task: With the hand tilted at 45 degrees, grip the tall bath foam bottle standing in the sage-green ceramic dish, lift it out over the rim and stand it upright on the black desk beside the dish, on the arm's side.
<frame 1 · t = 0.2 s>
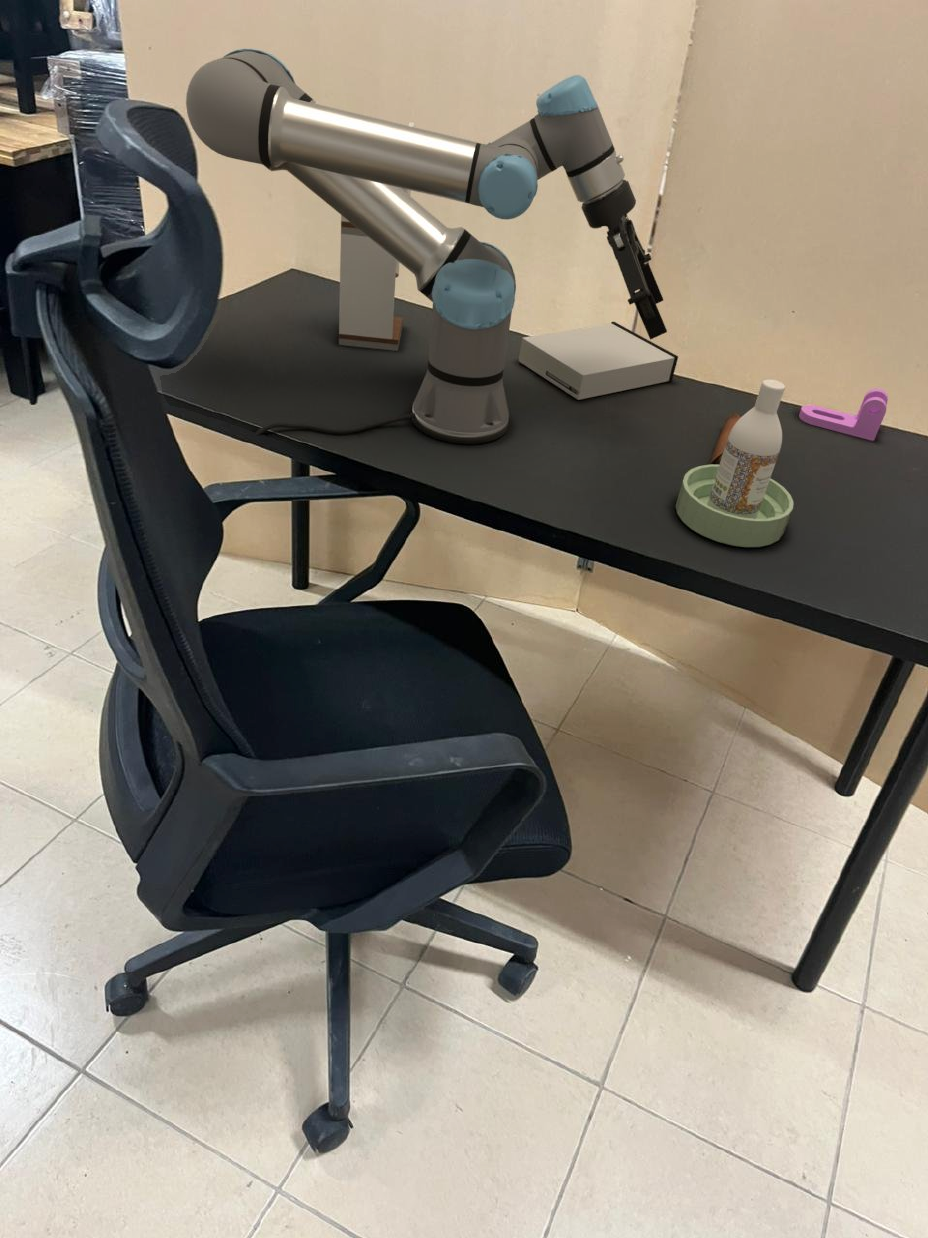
hand: (657, 318, 143), 16 cm above the table, tool tilted 35°, fingers open, 13 cm apart
bracket: (835, 425, 157), on the table
dish: (728, 518, 127), on the table
bath foam: (729, 518, 127), resting in dish
disc drive: (594, 373, 164), on the table
sunglasses case: (739, 459, 143), on the table
tall white banded column: (371, 337, 167), on the table
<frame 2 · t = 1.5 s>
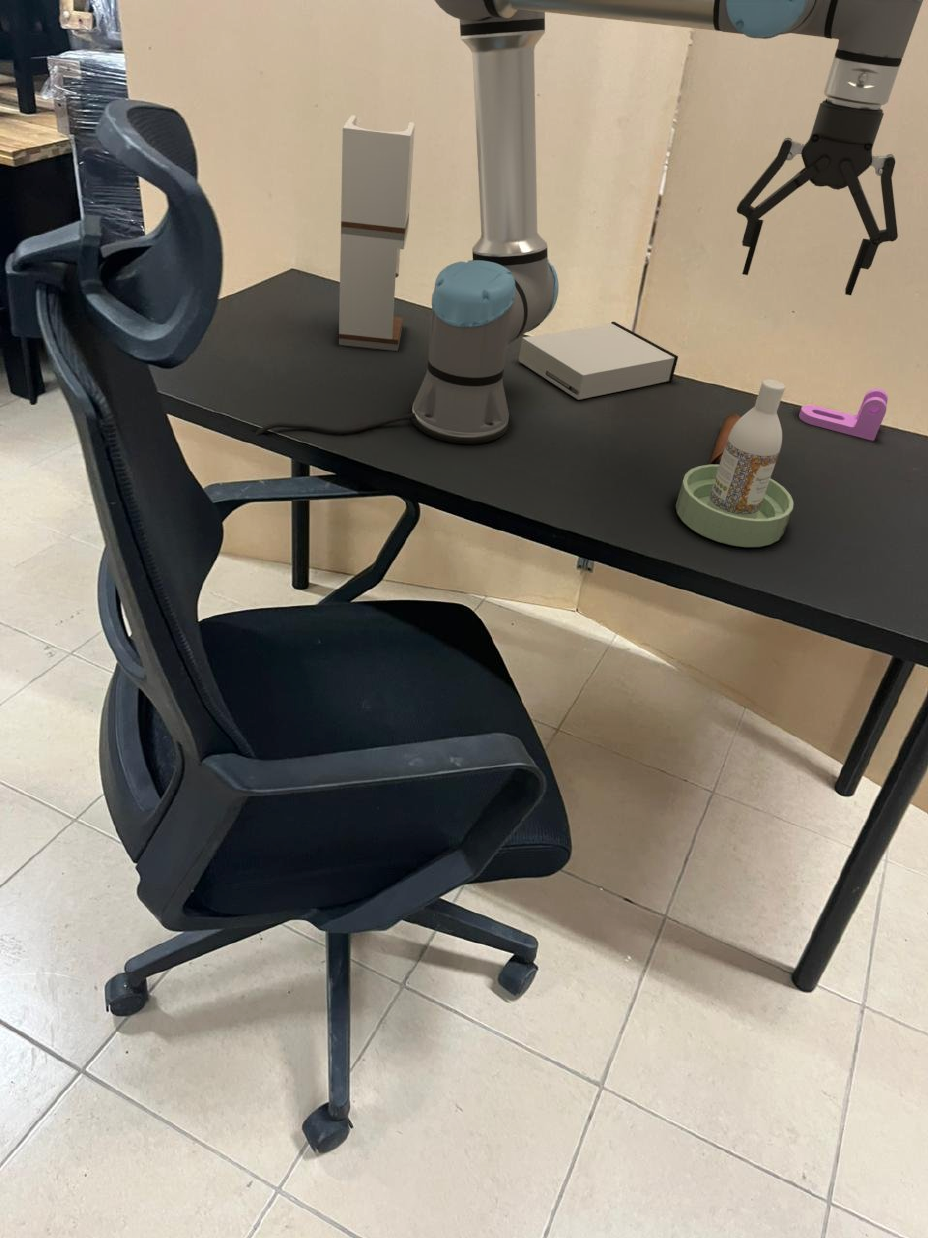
hand: (796, 282, 121), 29 cm above the table, tool pointing down, fingers open, 13 cm apart
nothing on the table moved.
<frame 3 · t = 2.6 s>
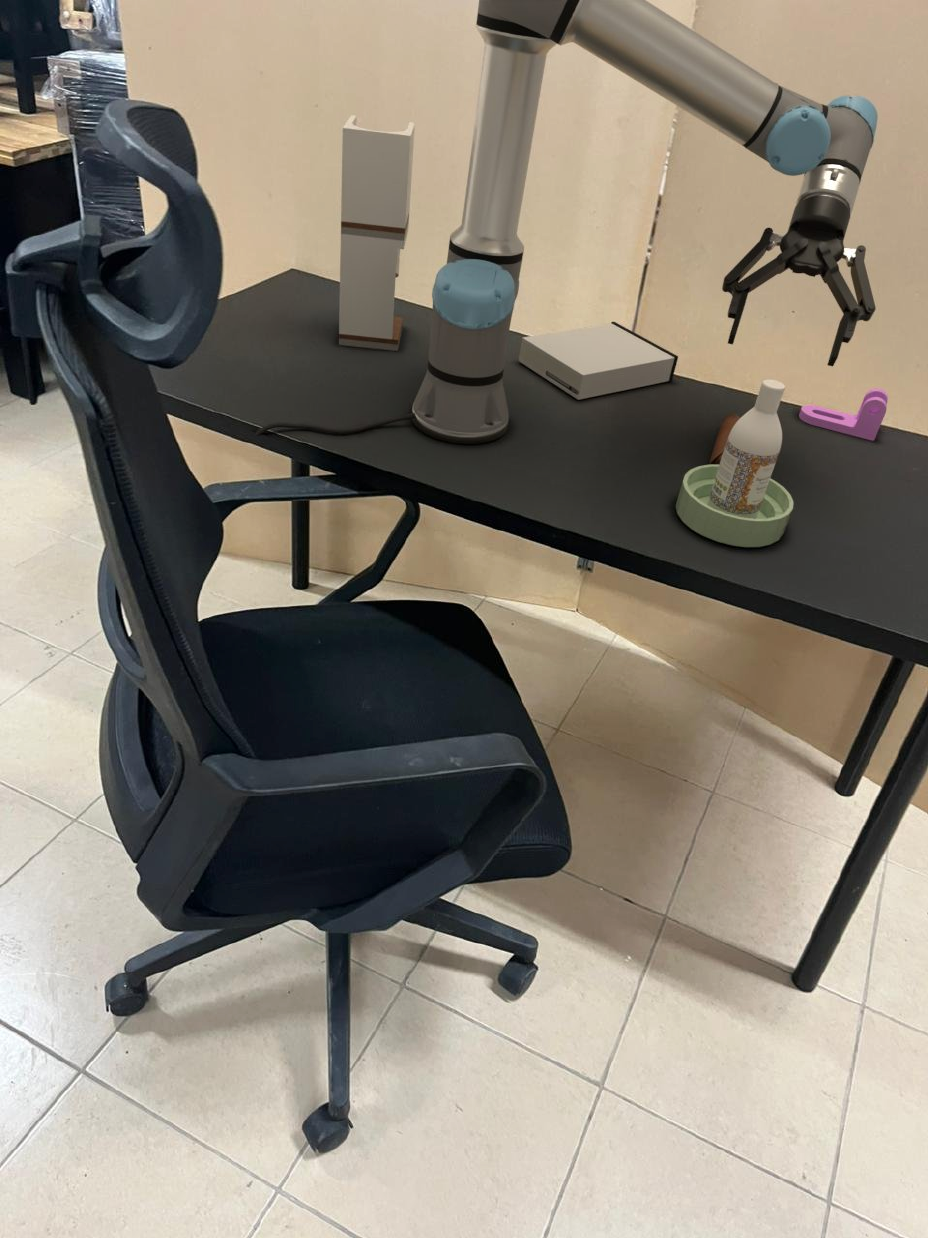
hand: (781, 350, 122), 21 cm above the table, tool tilted 45°, fingers open, 13 cm apart
nothing on the table moved.
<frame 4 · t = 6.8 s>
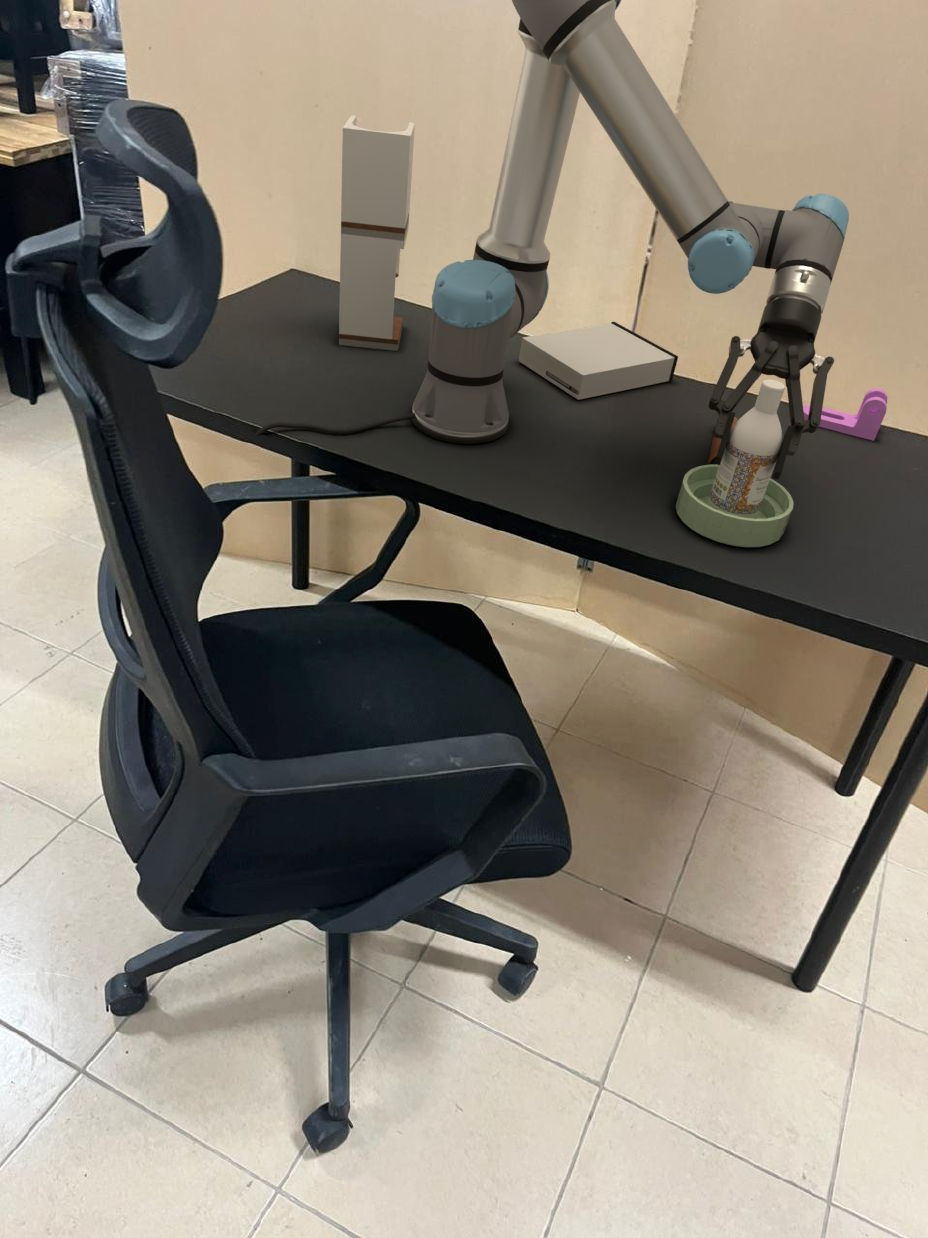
hand: (747, 468, 118), 10 cm above the table, tool tilted 45°, fingers closed on bath foam, 7 cm apart
bath foam: (728, 518, 127), resting in dish, touching gripper
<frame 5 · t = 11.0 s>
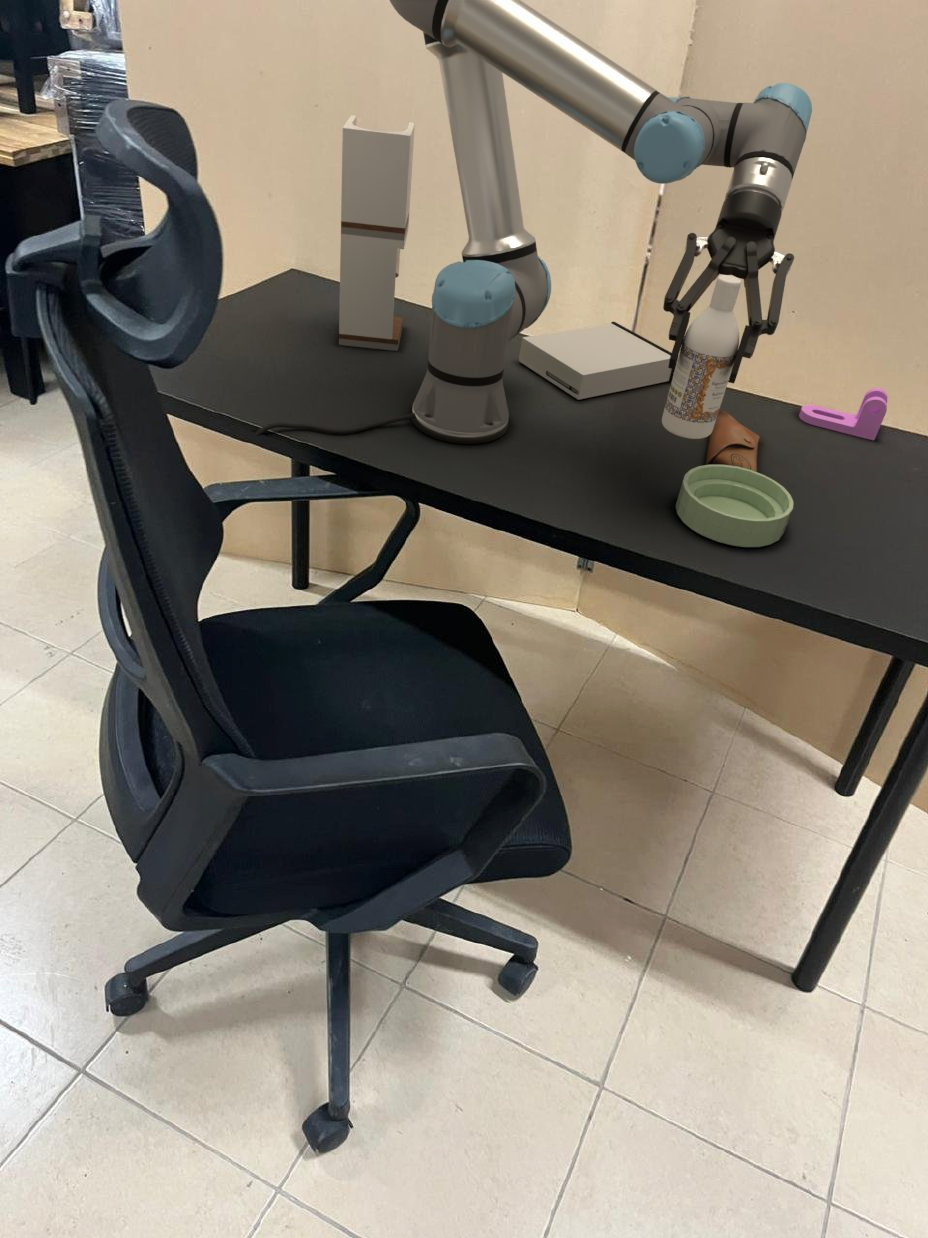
hand: (702, 370, 113), 21 cm above the table, tool tilted 45°, fingers closed on bath foam, 7 cm apart
bath foam: (685, 429, 121), point 12 cm above the table, touching gripper
when the fingers open (9 cm above the table, at t = 15.4 s): bath foam stays where it is, on the table.
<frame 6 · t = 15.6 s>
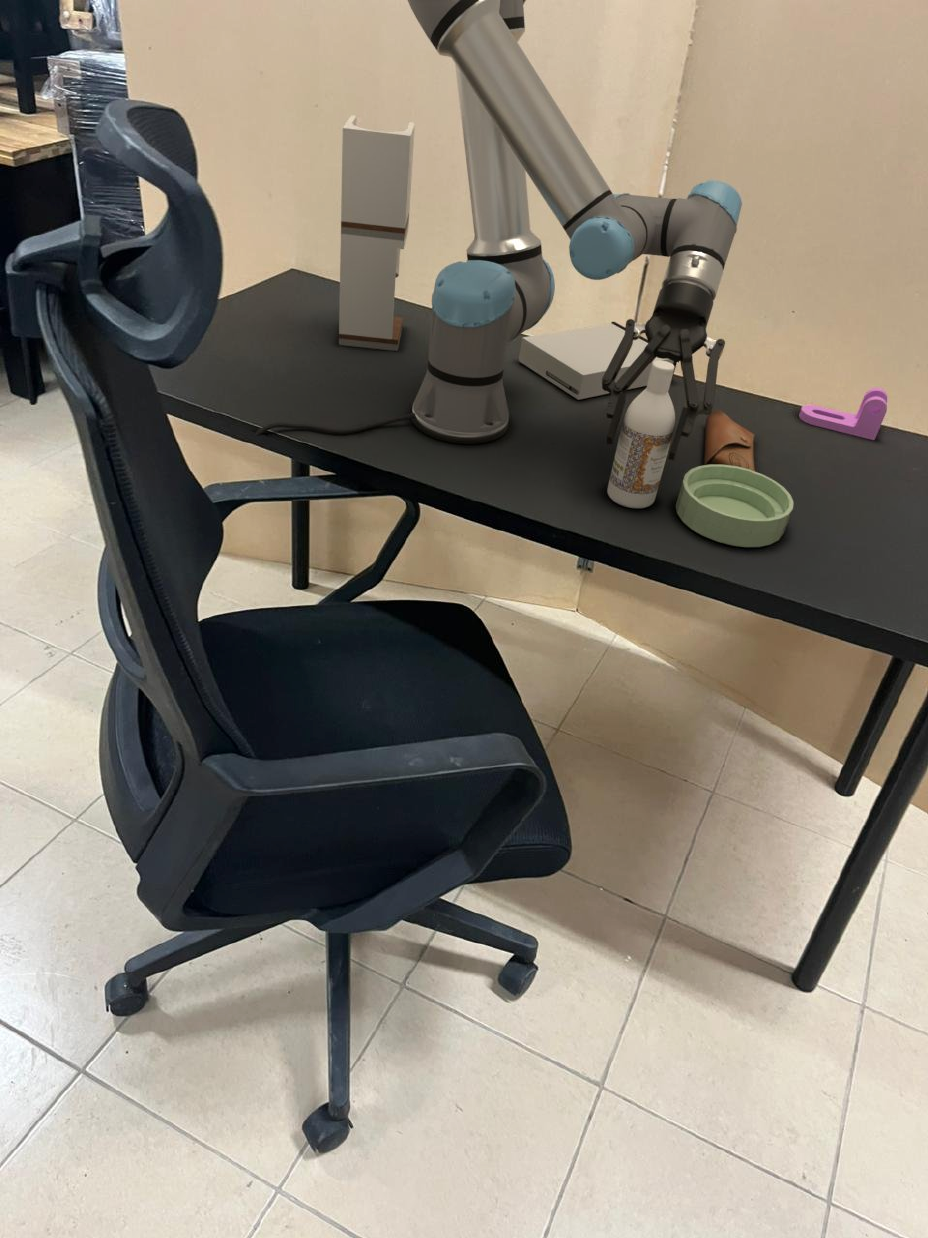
hand: (640, 448, 121), 9 cm above the table, tool tilted 45°, fingers open, 8 cm apart
bath foam: (630, 498, 129), on the table
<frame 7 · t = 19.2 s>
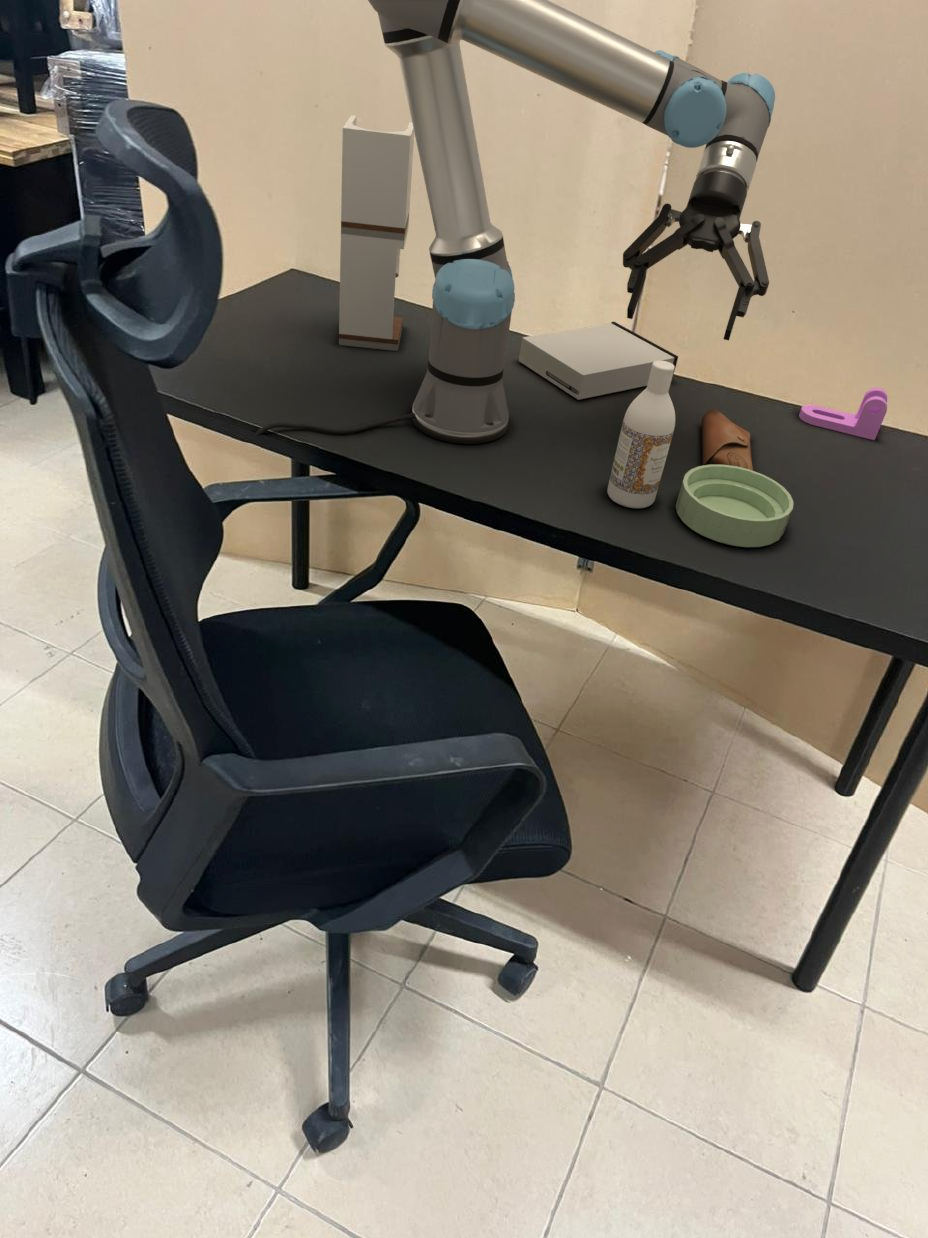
hand: (677, 324, 123), 22 cm above the table, tool tilted 45°, fingers open, 13 cm apart
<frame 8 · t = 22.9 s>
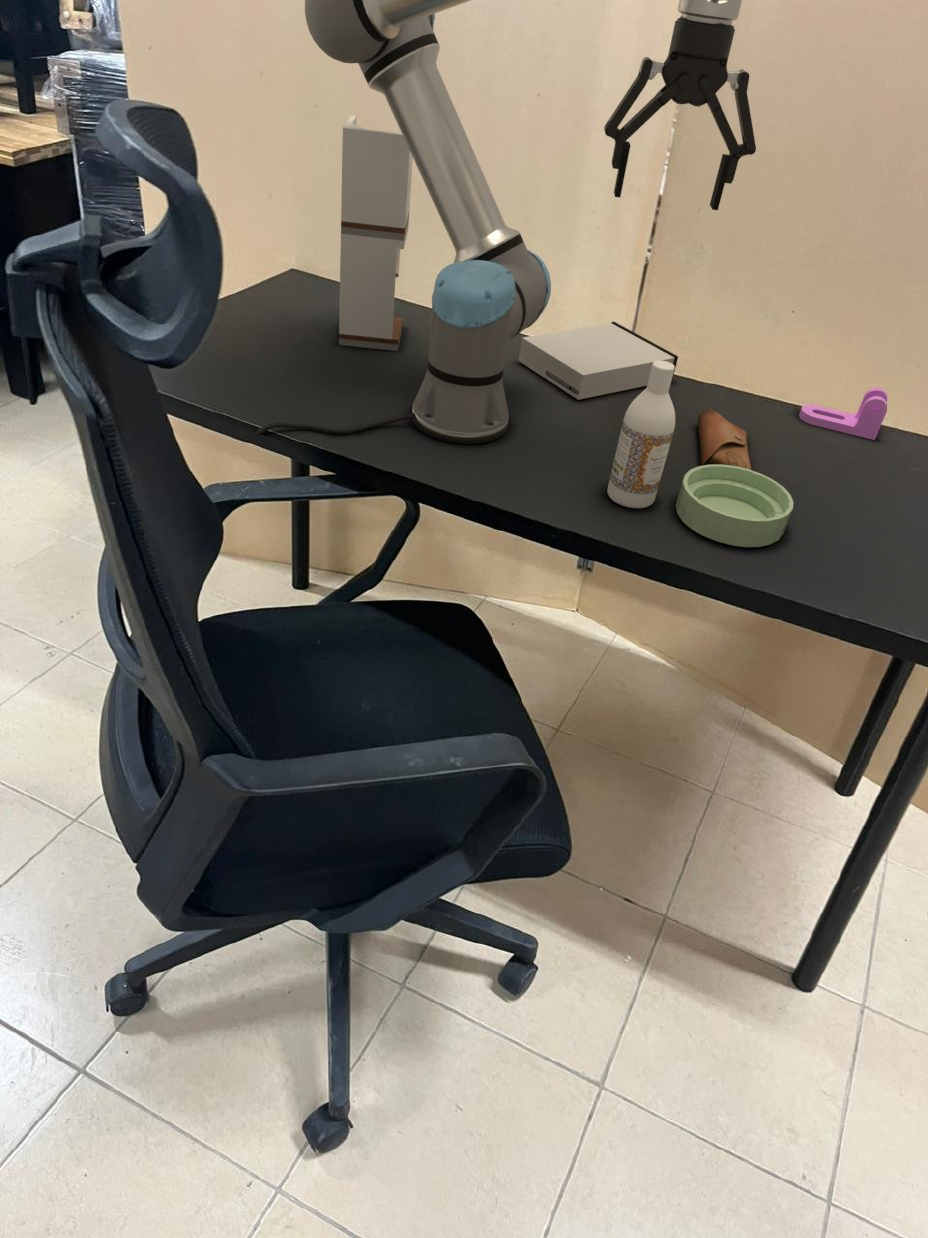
hand: (665, 201, 125), 35 cm above the table, tool pointing down, fingers open, 13 cm apart
at the end: bath foam inside the target area (1.1 cm from its centre), on the table; bath foam tilted 0°; bath foam touching table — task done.
